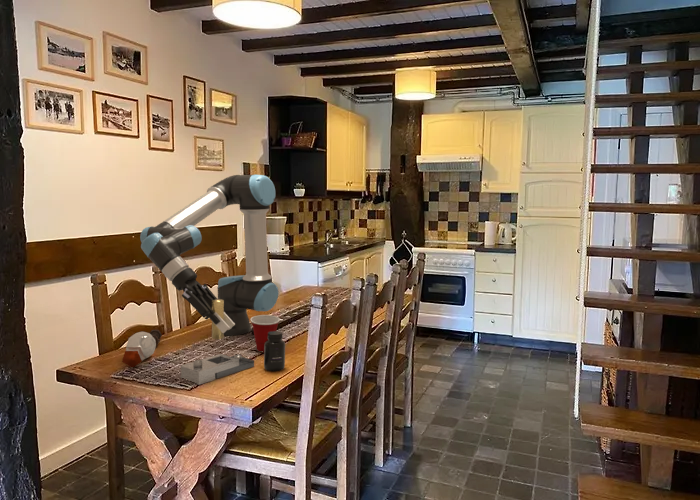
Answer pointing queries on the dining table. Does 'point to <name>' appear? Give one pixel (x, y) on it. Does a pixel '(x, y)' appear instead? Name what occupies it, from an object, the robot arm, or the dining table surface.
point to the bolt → (156, 336)
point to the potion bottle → (139, 348)
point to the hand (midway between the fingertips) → (229, 328)
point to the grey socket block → (207, 368)
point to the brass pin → (219, 308)
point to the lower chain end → (243, 365)
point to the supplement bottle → (274, 352)
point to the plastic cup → (263, 328)
